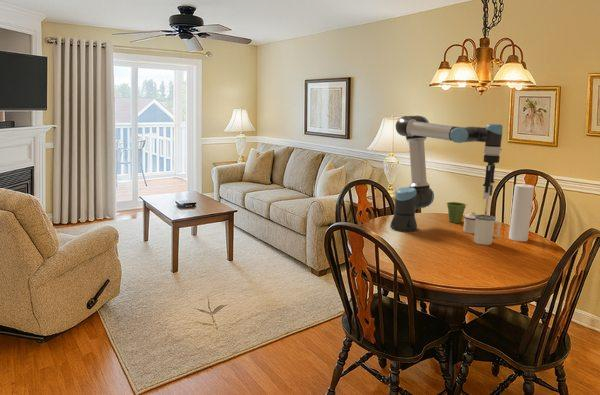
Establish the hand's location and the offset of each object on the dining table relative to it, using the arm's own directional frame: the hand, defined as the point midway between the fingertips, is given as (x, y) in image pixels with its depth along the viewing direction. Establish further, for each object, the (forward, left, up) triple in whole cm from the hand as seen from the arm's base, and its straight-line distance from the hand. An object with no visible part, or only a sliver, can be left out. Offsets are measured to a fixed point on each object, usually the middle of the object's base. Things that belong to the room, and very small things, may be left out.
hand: (487, 196), depth 241 cm
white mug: (+1, 0, -24) cm, 24 cm away
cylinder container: (+16, +17, -25) cm, 34 cm away
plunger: (0, 0, -14) cm, 14 cm away
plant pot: (-21, +37, -25) cm, 49 cm away
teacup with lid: (-9, +19, -25) cm, 32 cm away
